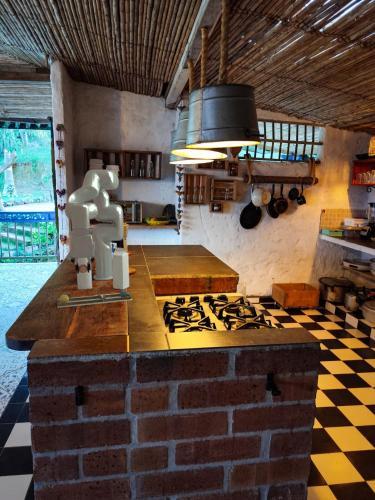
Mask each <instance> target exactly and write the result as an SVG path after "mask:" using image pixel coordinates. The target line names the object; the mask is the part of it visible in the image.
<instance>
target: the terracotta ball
mask: <svg viewBox="0 0 375 500" xmlns="http://www.w3.org/2000/svg"><path fill="white" fill-rule="evenodd" d="M87 270H88V268H87V266H86V265H84V264H82V265H80V266H79V272H80V273H86V272H87Z"/></svg>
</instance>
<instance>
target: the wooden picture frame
mask: <svg viewBox="0 0 375 500" xmlns="http://www.w3.org/2000/svg"><path fill="white" fill-rule="evenodd" d="M98 295H99V296H95V295H88V296H89V297H85V296H77V297H78V298H74V297H69V301H77V302H67V303H59V302H60V298H57V302H56V306H57V307H58V306H68V305H78V304H88V303H98V302H103V298H102V295H103V294H98ZM98 298H100V299H98ZM88 299H98V300H88ZM78 300H87V301H78ZM98 304H99V303H98ZM88 305H89V304H88Z"/></svg>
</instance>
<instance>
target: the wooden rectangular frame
mask: <svg viewBox="0 0 375 500" xmlns="http://www.w3.org/2000/svg"><path fill="white" fill-rule="evenodd" d="M109 294H110V295H103V294H102V295H103V298H104V301H105V302H108V301H118V300H128V299H131V298H132V295H131V293H130V292H128V297H119V296H120V295H119V294H117V293H109ZM109 297H118V298H109ZM106 298H108V299H106ZM128 301H129V300H128ZM118 302H119V301H118ZM108 303H109V302H108Z"/></svg>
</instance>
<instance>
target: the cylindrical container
mask: <svg viewBox="0 0 375 500" xmlns="http://www.w3.org/2000/svg"><path fill="white" fill-rule="evenodd" d="M91 258H92V257H90V259H91ZM87 263H88V259H87V258H78V265H79V266H80V265H82V264H84V265H86V266H87ZM76 278H77V279H76V280H77V290H88V289H90V290H91V289H93V275H92V269H91V270H89V273H88V271H87V272H86V273H80V272H79V273H78V274H77V273H76Z"/></svg>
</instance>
